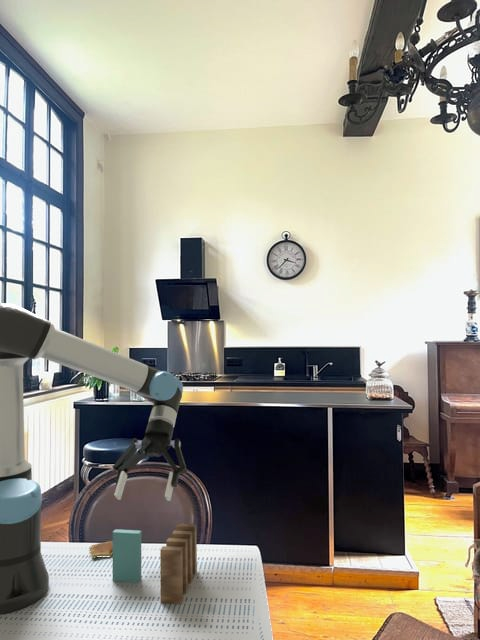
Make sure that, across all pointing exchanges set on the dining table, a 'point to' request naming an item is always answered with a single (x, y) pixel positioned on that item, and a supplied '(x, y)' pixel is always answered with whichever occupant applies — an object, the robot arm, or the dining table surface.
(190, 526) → the domino
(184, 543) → the domino
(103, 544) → the shard
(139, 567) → the domino
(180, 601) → the domino
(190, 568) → the domino
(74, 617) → the dining table surface
